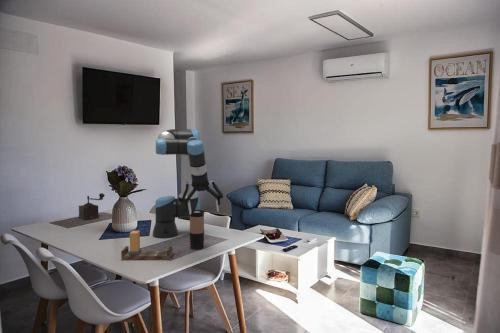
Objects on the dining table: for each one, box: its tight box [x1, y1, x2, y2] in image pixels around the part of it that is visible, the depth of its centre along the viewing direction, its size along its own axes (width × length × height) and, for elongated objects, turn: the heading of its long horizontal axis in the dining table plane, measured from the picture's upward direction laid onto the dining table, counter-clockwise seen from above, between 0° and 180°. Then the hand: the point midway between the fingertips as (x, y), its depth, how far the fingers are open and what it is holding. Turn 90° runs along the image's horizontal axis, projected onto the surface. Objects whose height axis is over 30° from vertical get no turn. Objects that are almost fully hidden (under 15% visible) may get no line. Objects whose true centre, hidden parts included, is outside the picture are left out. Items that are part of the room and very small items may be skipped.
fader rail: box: [120, 245, 173, 261], centre depth 180 cm, size 23×8×4 cm, turn 93°
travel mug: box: [189, 209, 205, 251], centre depth 196 cm, size 8×8×20 cm
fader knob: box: [129, 230, 142, 255], centre depth 179 cm, size 4×6×10 cm
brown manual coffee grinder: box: [78, 192, 105, 221], centre depth 267 cm, size 16×11×18 cm
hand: (204, 211), depth 180 cm, fingers open, 13 cm apart
